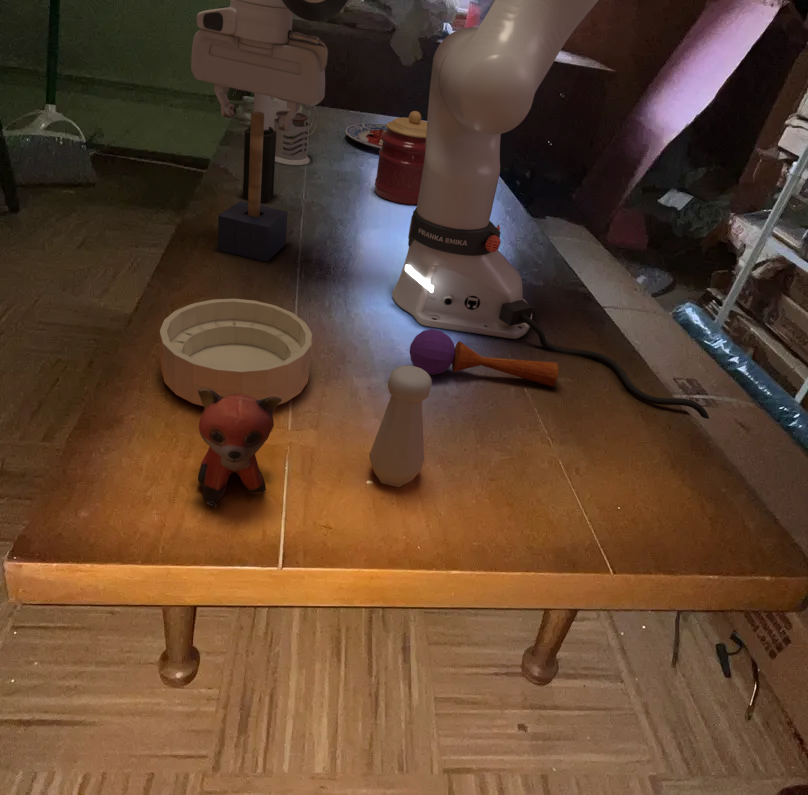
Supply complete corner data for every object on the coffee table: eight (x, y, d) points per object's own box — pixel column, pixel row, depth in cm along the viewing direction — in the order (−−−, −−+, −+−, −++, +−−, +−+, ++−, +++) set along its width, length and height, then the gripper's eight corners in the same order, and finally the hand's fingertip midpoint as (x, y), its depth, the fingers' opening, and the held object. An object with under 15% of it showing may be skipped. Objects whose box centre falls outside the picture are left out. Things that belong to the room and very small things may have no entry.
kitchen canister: (441, 206, 157) (457, 121, 148) (385, 205, 152) (398, 117, 143) (418, 185, 167) (431, 105, 157) (365, 184, 162) (375, 101, 152)
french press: (259, 153, 169) (264, 35, 156) (300, 150, 177) (308, 37, 163) (283, 166, 164) (290, 45, 150) (324, 162, 171) (335, 46, 158)
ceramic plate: (334, 128, 199) (335, 117, 198) (422, 135, 208) (424, 124, 206) (358, 156, 179) (359, 144, 178) (454, 163, 188) (456, 151, 186)
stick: (260, 246, 125) (266, 113, 113) (255, 250, 123) (261, 115, 111) (249, 244, 125) (254, 110, 113) (244, 248, 123) (249, 112, 111)
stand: (285, 244, 127) (287, 211, 124) (266, 262, 120) (268, 227, 116) (239, 233, 128) (240, 200, 125) (217, 250, 121) (218, 215, 117)
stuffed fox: (272, 444, 80) (278, 349, 74) (276, 514, 71) (283, 414, 64) (200, 443, 78) (200, 346, 72) (195, 515, 69) (195, 412, 63)
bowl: (326, 358, 97) (330, 318, 94) (277, 430, 82) (280, 386, 79) (202, 327, 99) (202, 287, 96) (133, 392, 84) (130, 347, 81)
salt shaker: (419, 460, 82) (439, 361, 74) (421, 494, 77) (443, 391, 70) (367, 455, 81) (382, 354, 74) (366, 489, 76) (383, 385, 69)
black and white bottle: (265, 203, 142) (272, 66, 129) (240, 198, 143) (244, 60, 129) (274, 196, 147) (281, 62, 133) (250, 190, 147) (255, 57, 134)
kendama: (565, 373, 95) (415, 345, 92) (548, 405, 99) (405, 379, 96) (558, 344, 99) (416, 316, 96) (543, 375, 103) (405, 350, 100)
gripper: (336, 37, 107) (326, 133, 114) (206, 9, 109) (204, 105, 116) (322, 41, 102) (313, 142, 109) (186, 11, 104) (186, 112, 111)
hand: (256, 123), depth 113 cm, fingers open, 8 cm apart
